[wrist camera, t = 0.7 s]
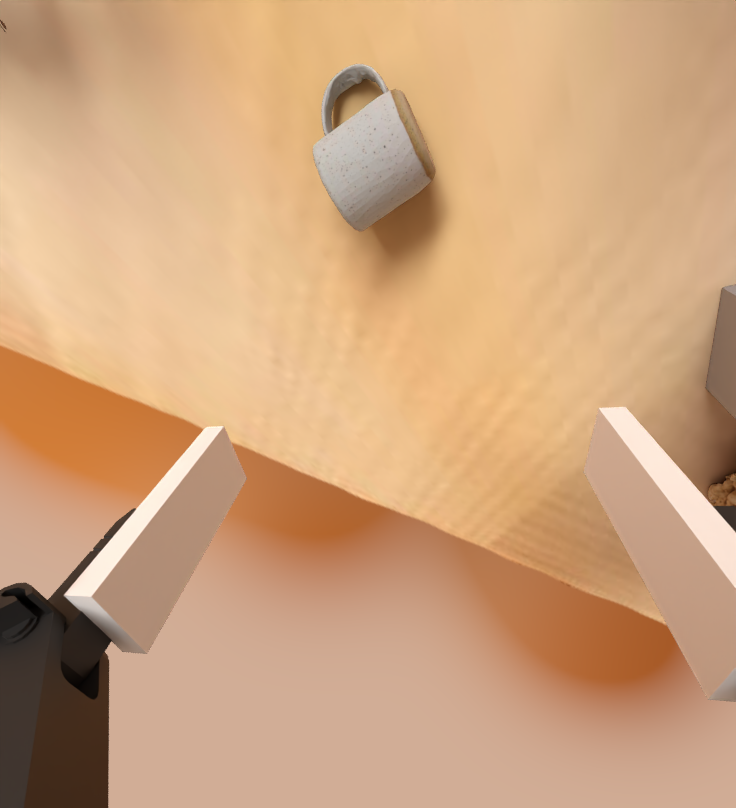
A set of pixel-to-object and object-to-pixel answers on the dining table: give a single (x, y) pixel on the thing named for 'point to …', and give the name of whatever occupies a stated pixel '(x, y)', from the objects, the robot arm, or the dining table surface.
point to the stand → (724, 353)
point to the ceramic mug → (371, 152)
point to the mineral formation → (724, 492)
